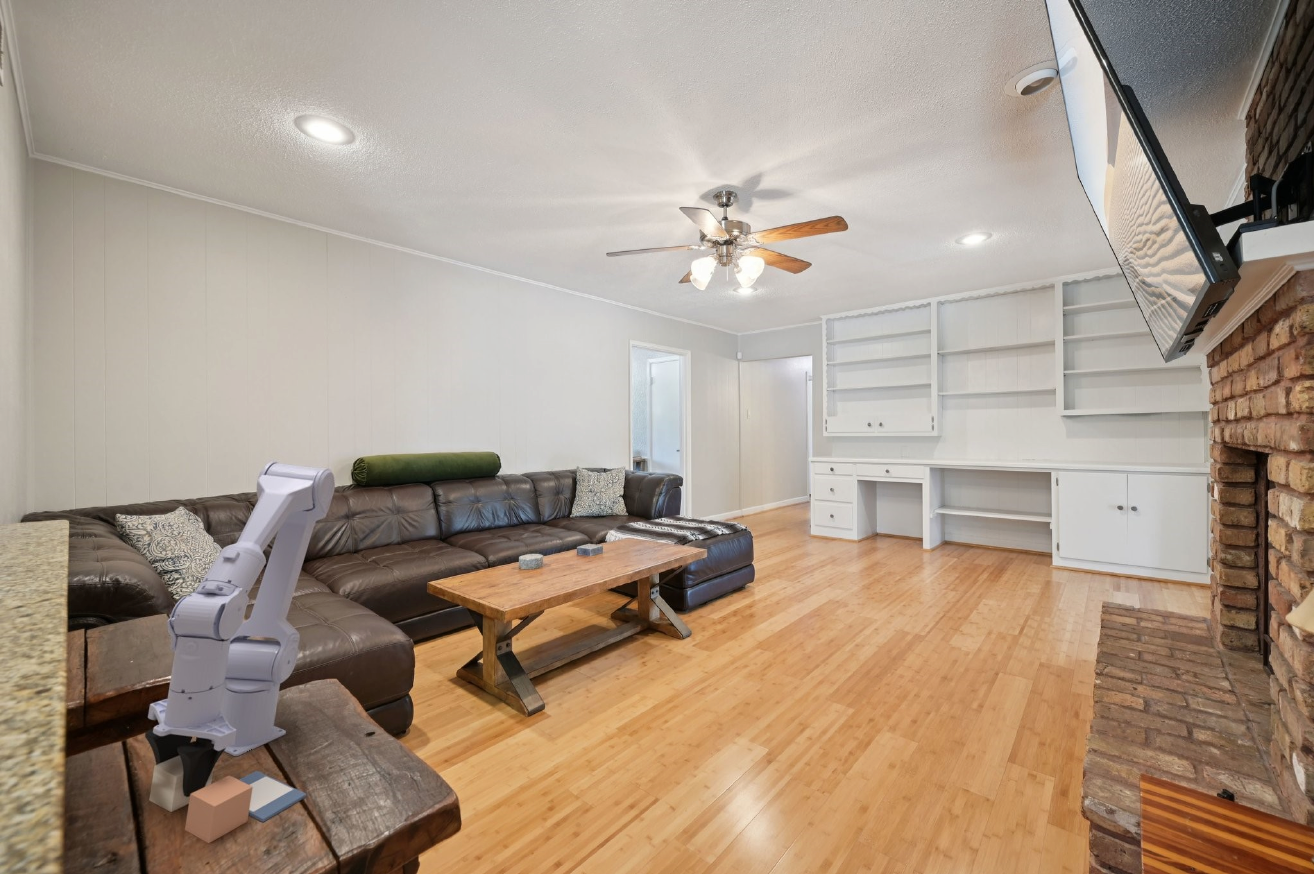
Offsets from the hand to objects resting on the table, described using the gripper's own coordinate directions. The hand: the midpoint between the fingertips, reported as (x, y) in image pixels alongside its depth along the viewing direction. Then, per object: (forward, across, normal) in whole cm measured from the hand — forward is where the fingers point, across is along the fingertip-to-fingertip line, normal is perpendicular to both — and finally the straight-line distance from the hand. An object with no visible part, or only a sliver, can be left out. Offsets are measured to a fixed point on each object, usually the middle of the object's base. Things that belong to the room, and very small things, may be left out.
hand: (181, 785), depth 73 cm
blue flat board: (+1, +8, +5) cm, 10 cm away
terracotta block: (+2, +9, -1) cm, 9 cm away
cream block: (+1, 0, 0) cm, 1 cm away
